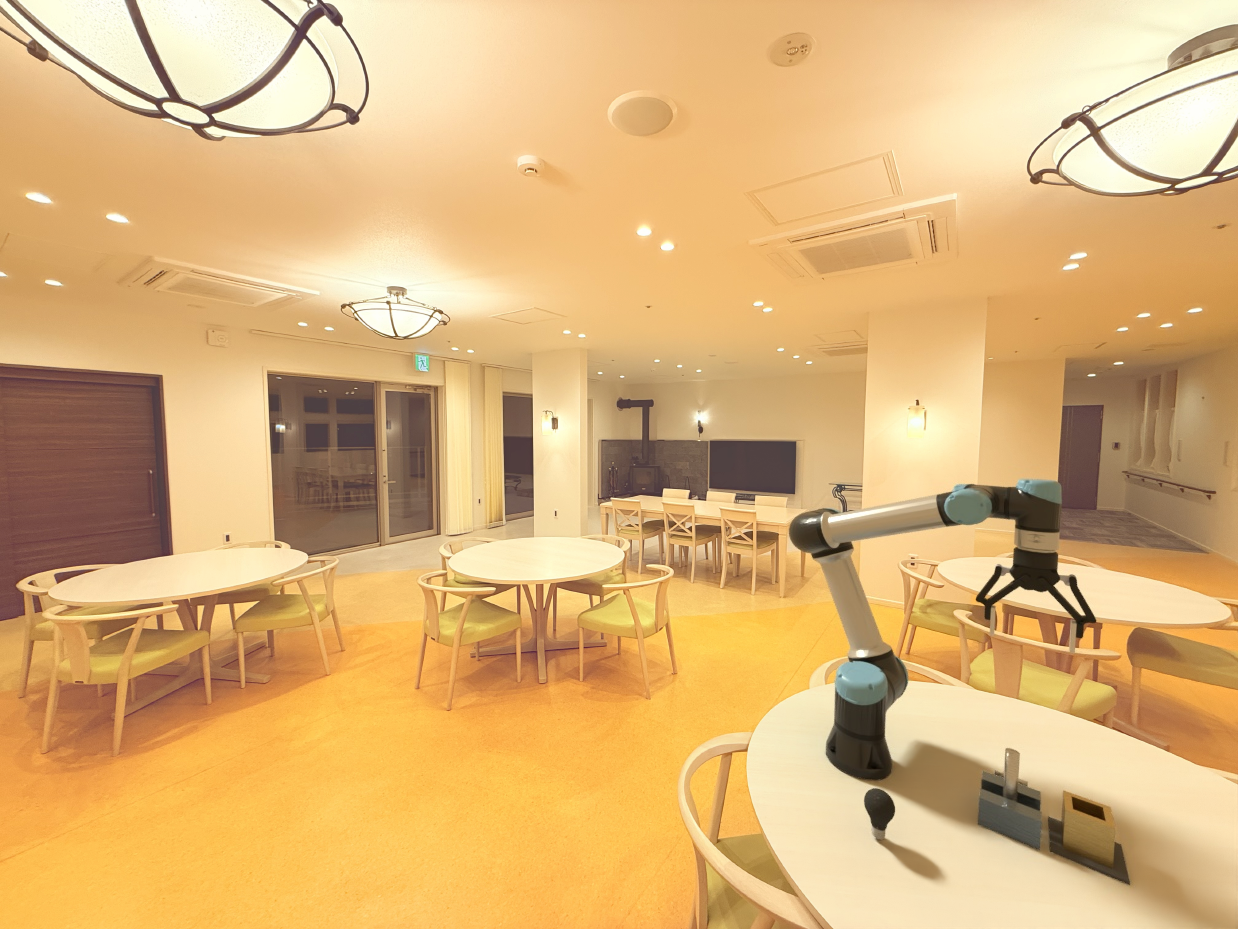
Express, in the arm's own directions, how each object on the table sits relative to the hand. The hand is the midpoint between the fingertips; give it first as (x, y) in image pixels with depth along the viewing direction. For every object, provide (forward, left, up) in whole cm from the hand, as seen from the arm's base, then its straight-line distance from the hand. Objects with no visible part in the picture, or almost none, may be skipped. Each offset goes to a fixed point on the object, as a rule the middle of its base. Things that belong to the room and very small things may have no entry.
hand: (1030, 642), depth 108 cm
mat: (+10, -9, -37) cm, 39 cm away
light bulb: (-22, -34, -37) cm, 55 cm away
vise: (-2, -7, -37) cm, 37 cm away
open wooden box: (+10, -9, -36) cm, 39 cm away
